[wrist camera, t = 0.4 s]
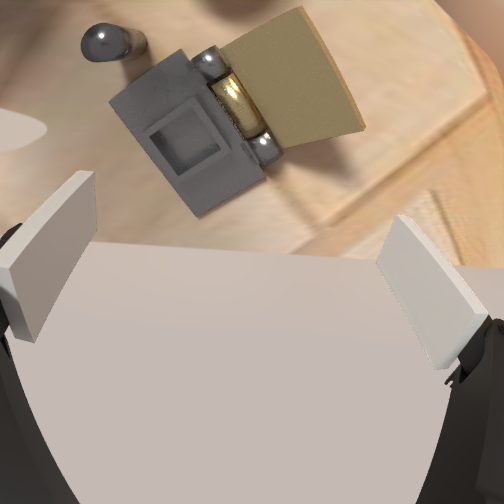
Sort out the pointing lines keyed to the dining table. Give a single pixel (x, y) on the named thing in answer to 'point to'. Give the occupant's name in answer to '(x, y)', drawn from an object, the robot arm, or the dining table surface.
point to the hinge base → (193, 130)
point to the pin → (112, 43)
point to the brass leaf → (287, 83)
